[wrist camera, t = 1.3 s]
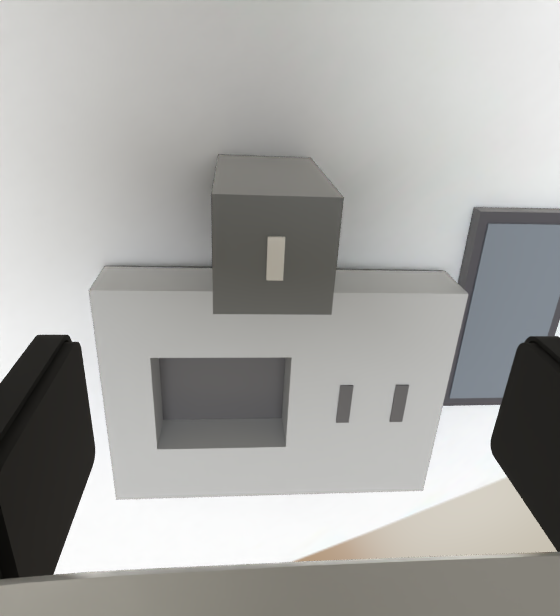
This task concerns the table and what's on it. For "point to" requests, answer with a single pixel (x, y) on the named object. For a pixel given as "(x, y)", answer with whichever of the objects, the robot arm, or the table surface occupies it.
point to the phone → (504, 297)
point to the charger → (273, 236)
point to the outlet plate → (272, 384)
